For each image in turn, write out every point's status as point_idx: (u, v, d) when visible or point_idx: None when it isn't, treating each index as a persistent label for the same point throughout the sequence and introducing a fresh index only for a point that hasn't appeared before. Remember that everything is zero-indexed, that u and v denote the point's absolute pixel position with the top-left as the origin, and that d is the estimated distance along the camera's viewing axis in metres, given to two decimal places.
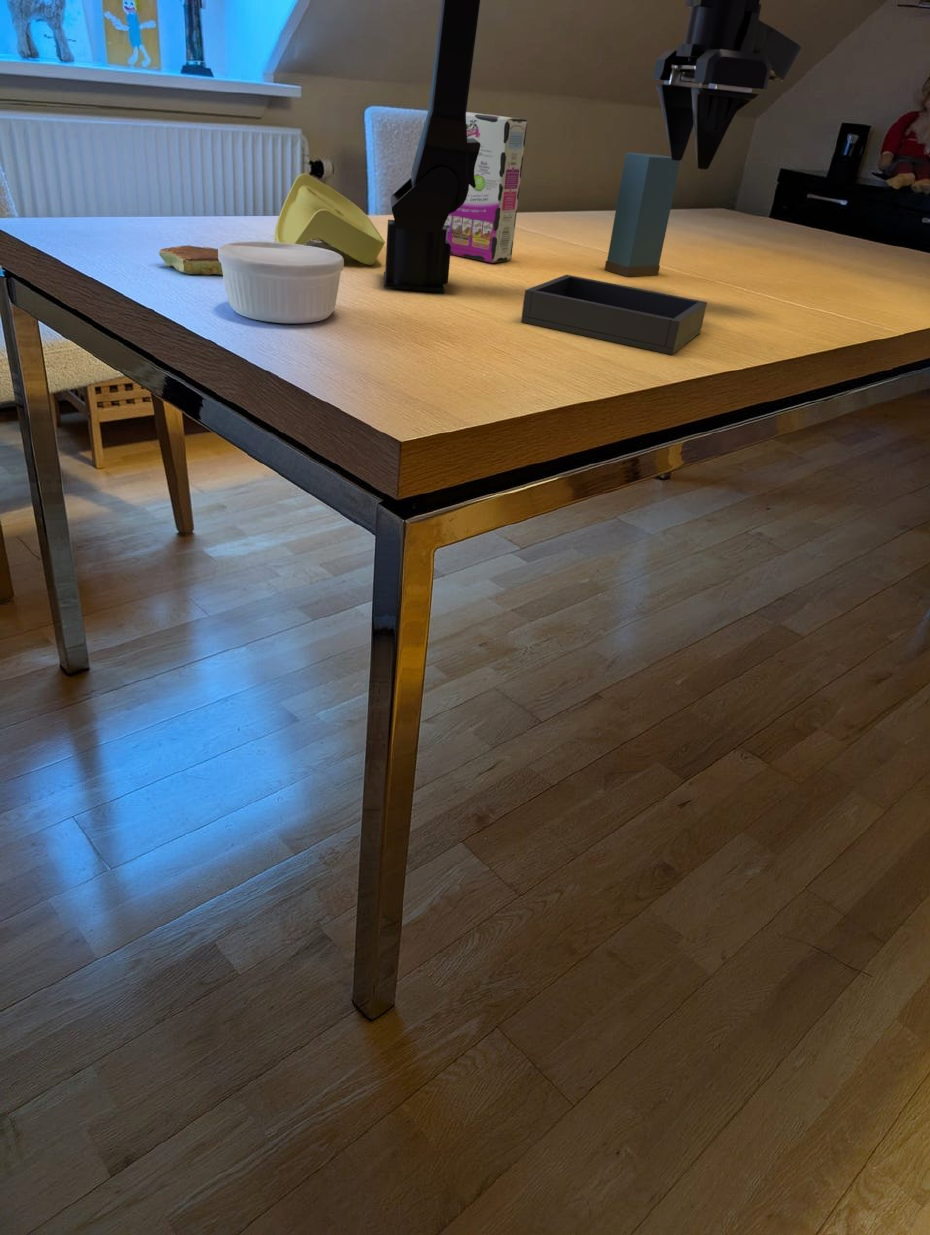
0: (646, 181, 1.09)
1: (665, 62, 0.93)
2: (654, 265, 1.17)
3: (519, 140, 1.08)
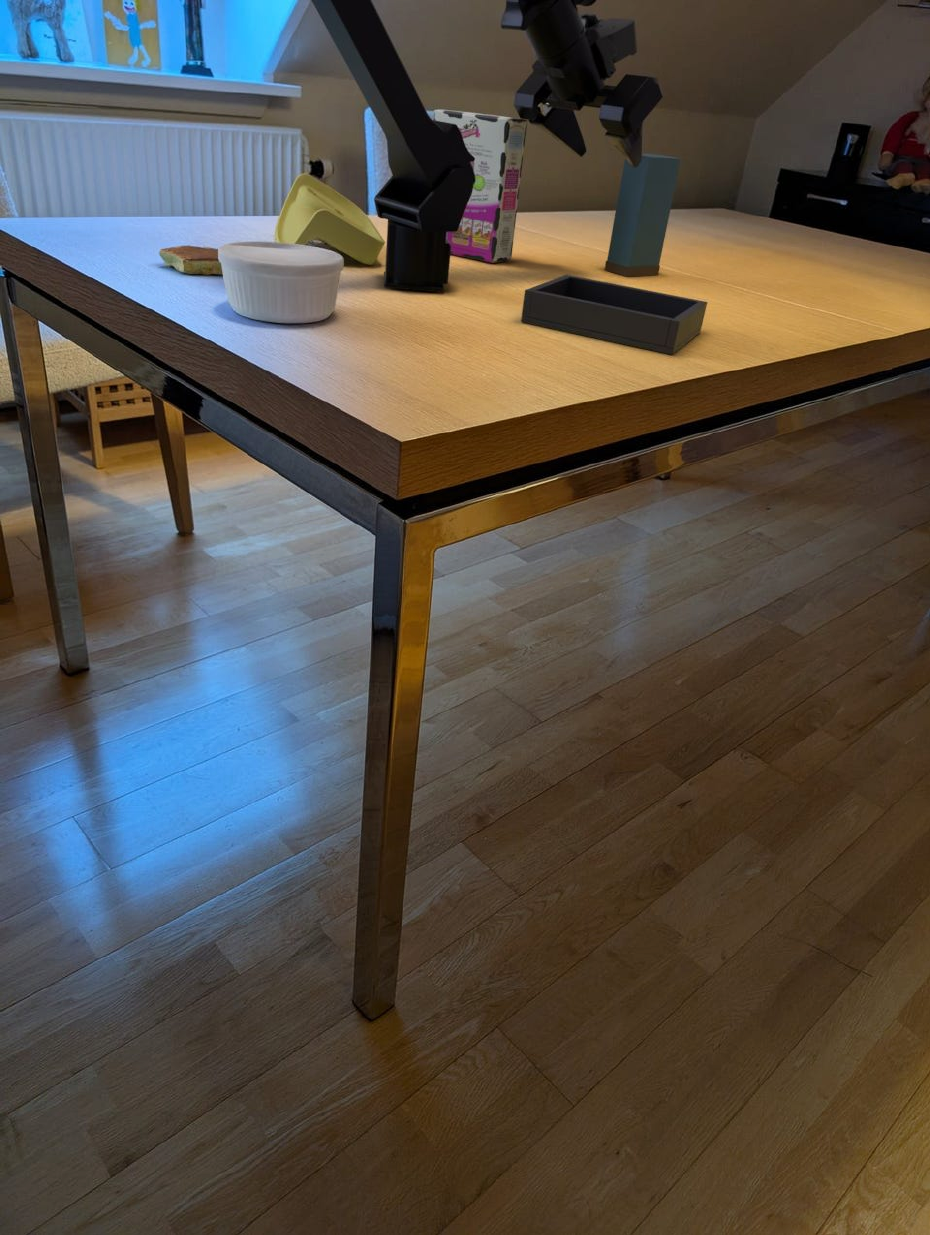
0: (646, 181, 1.09)
1: (533, 109, 1.03)
2: (654, 265, 1.17)
3: (519, 140, 1.08)
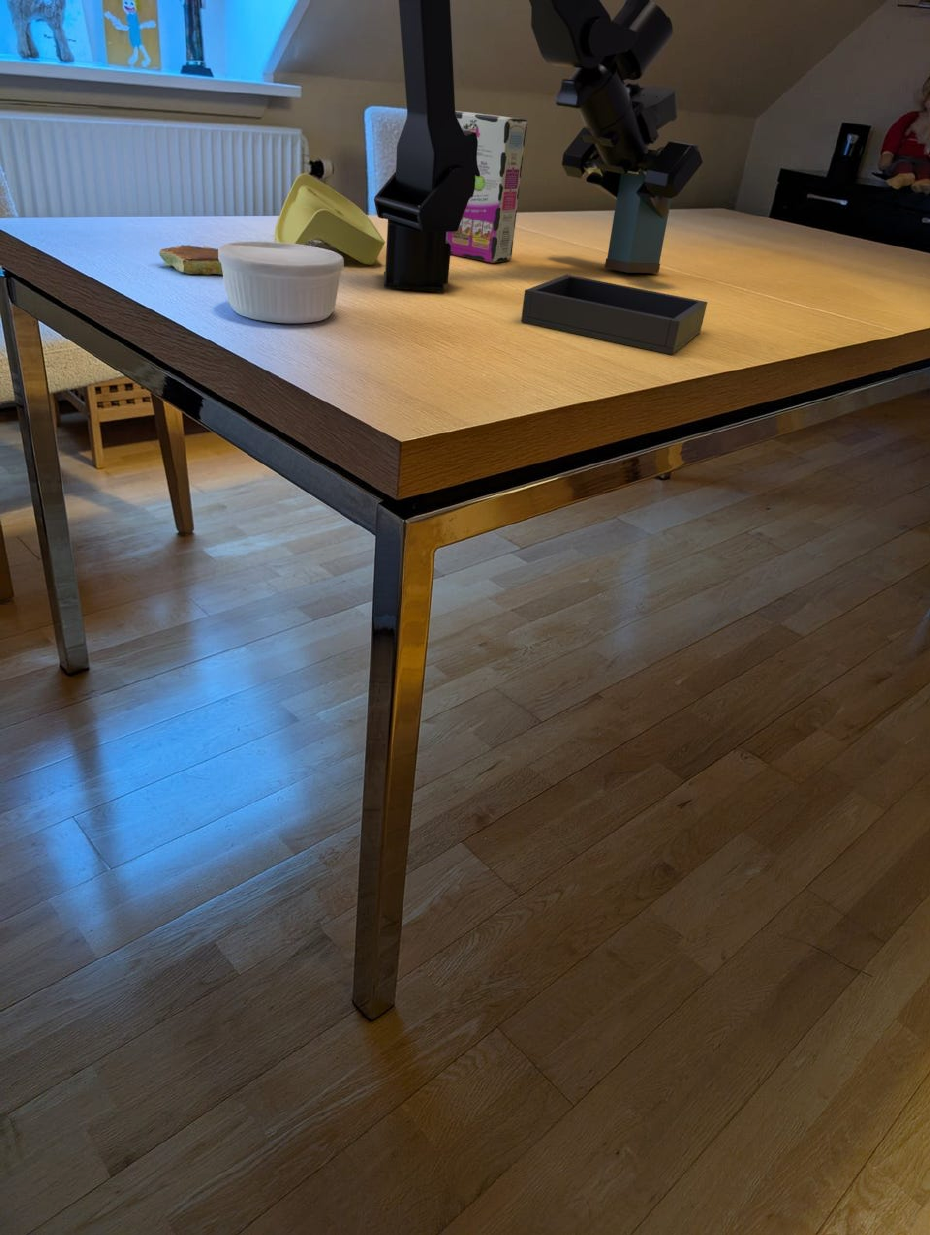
0: None
1: (581, 169, 1.12)
2: (654, 263, 1.17)
3: (519, 140, 1.08)
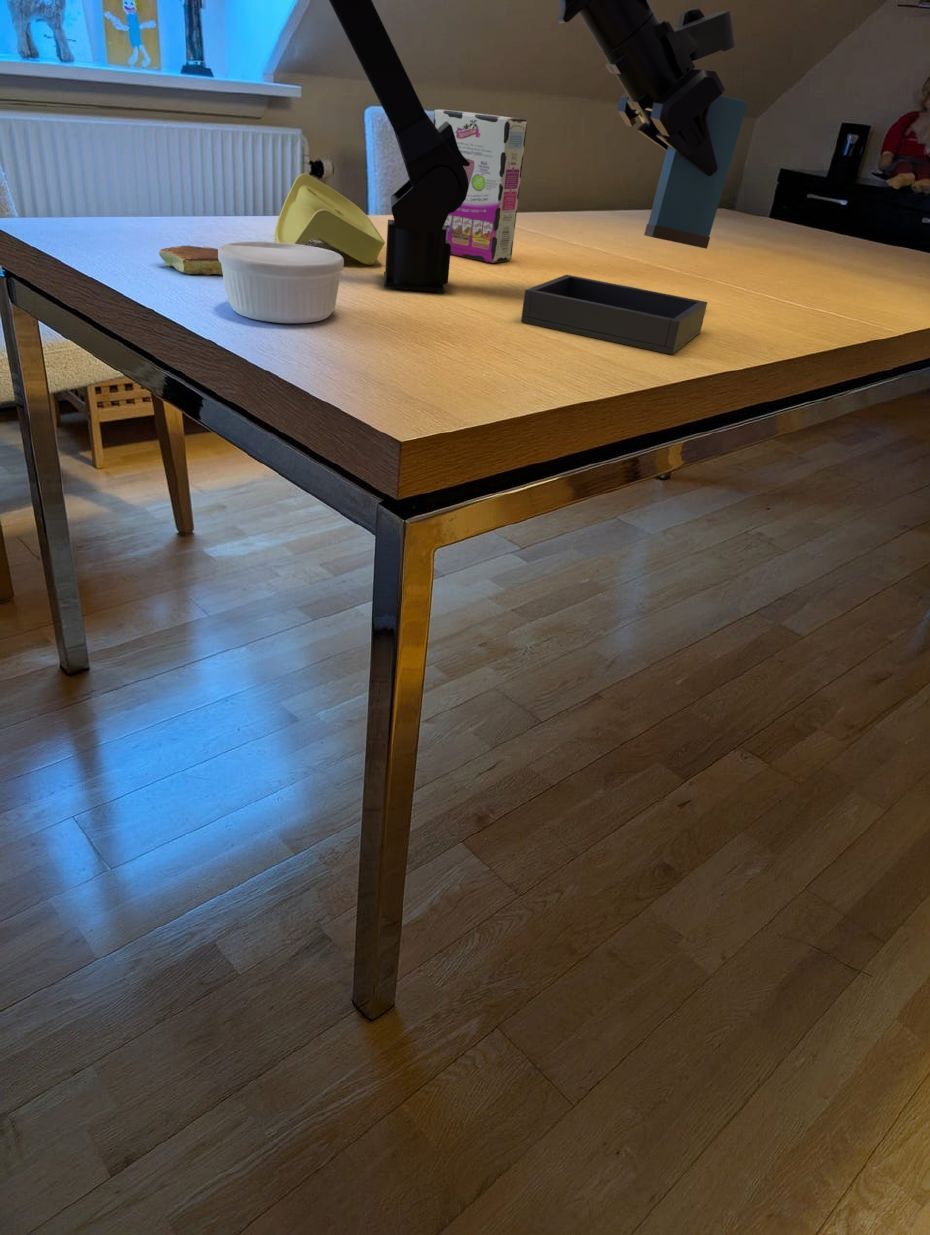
0: None
1: (626, 113, 0.95)
2: (700, 235, 0.95)
3: (519, 140, 1.08)
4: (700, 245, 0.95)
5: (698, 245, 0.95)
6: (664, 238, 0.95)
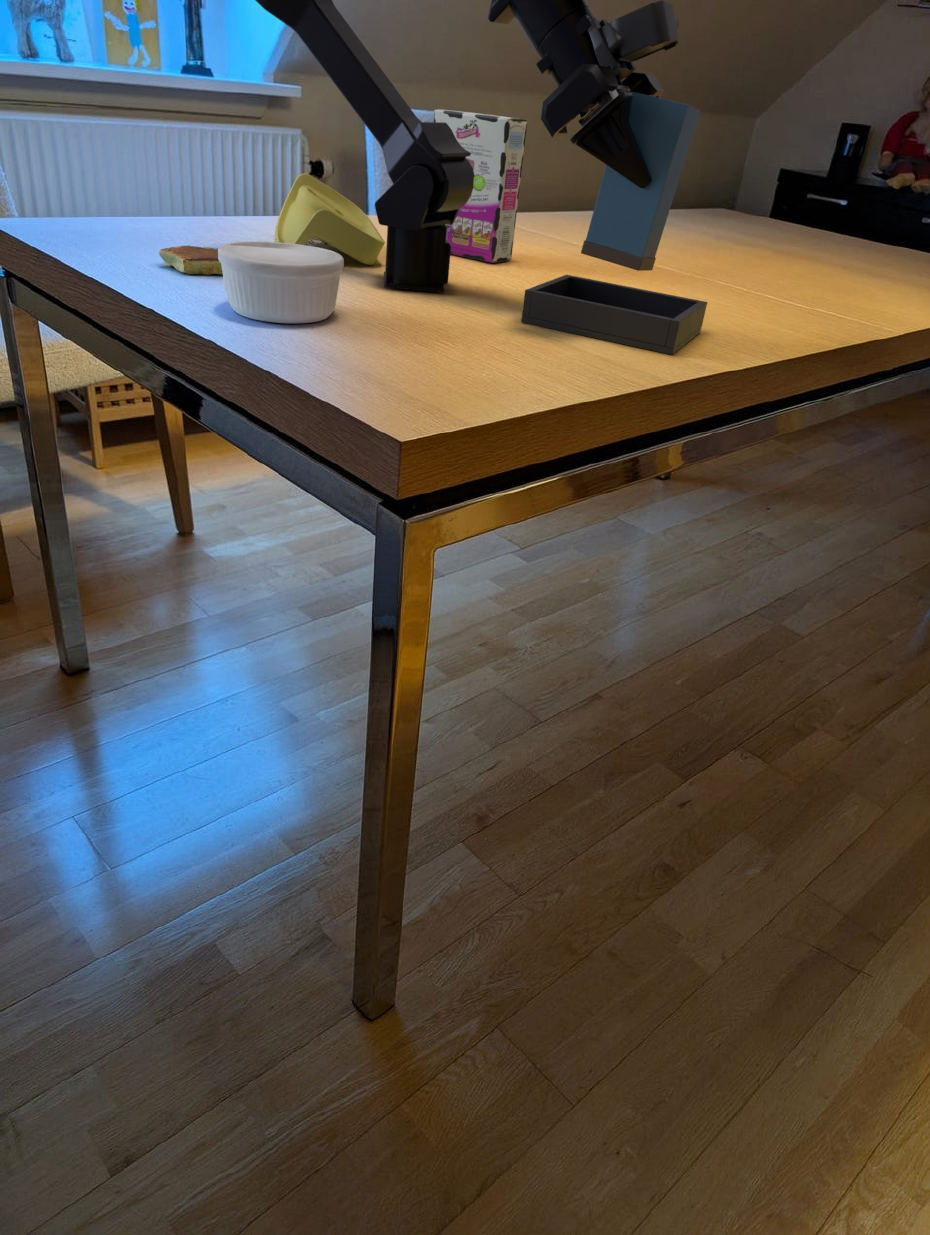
0: None
1: None
2: (632, 254, 0.83)
3: (519, 140, 1.08)
4: (631, 266, 0.84)
5: (629, 266, 0.84)
6: (593, 255, 0.85)
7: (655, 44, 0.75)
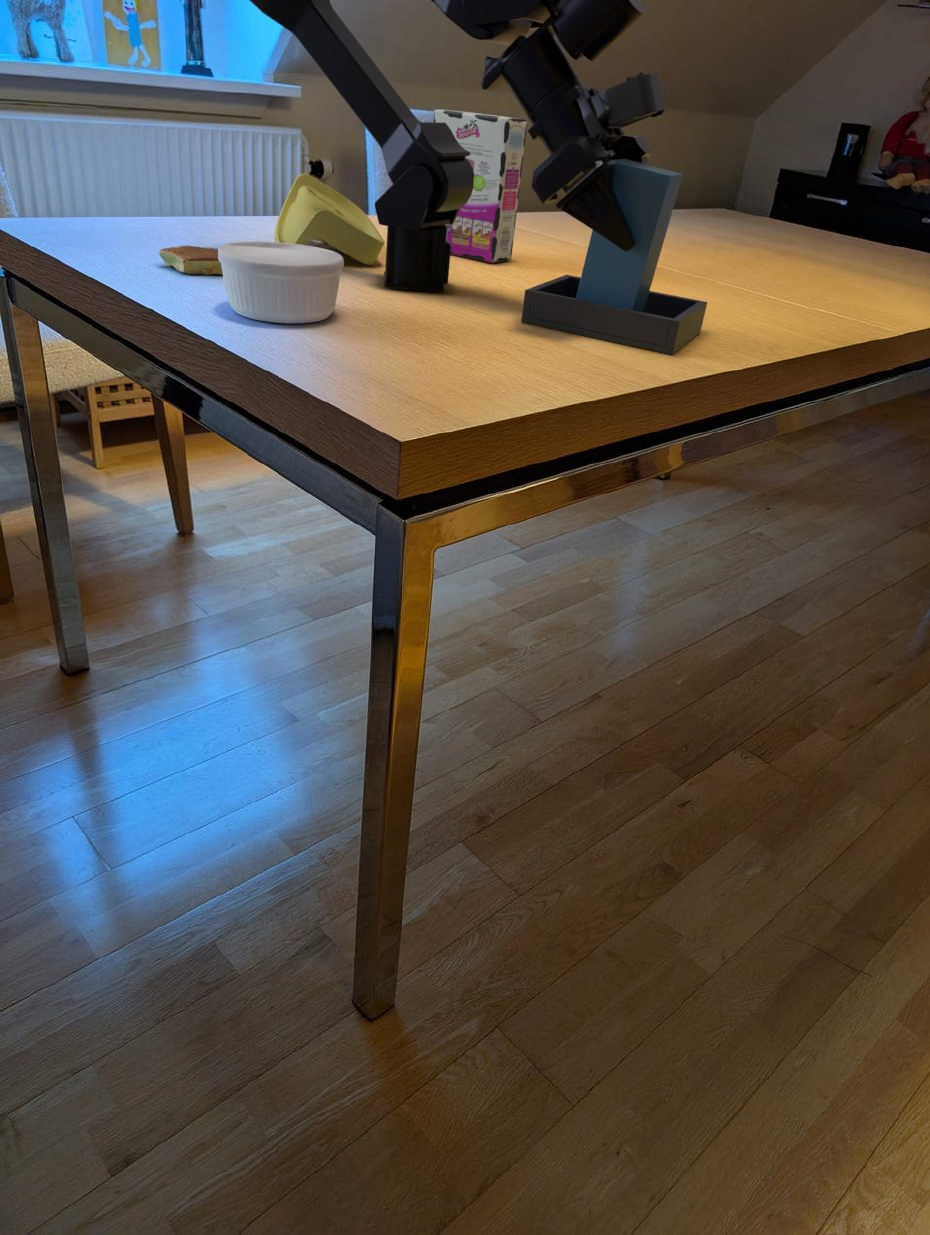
0: None
1: None
2: None
3: (519, 140, 1.08)
4: None
5: None
6: None
7: (642, 115, 0.78)
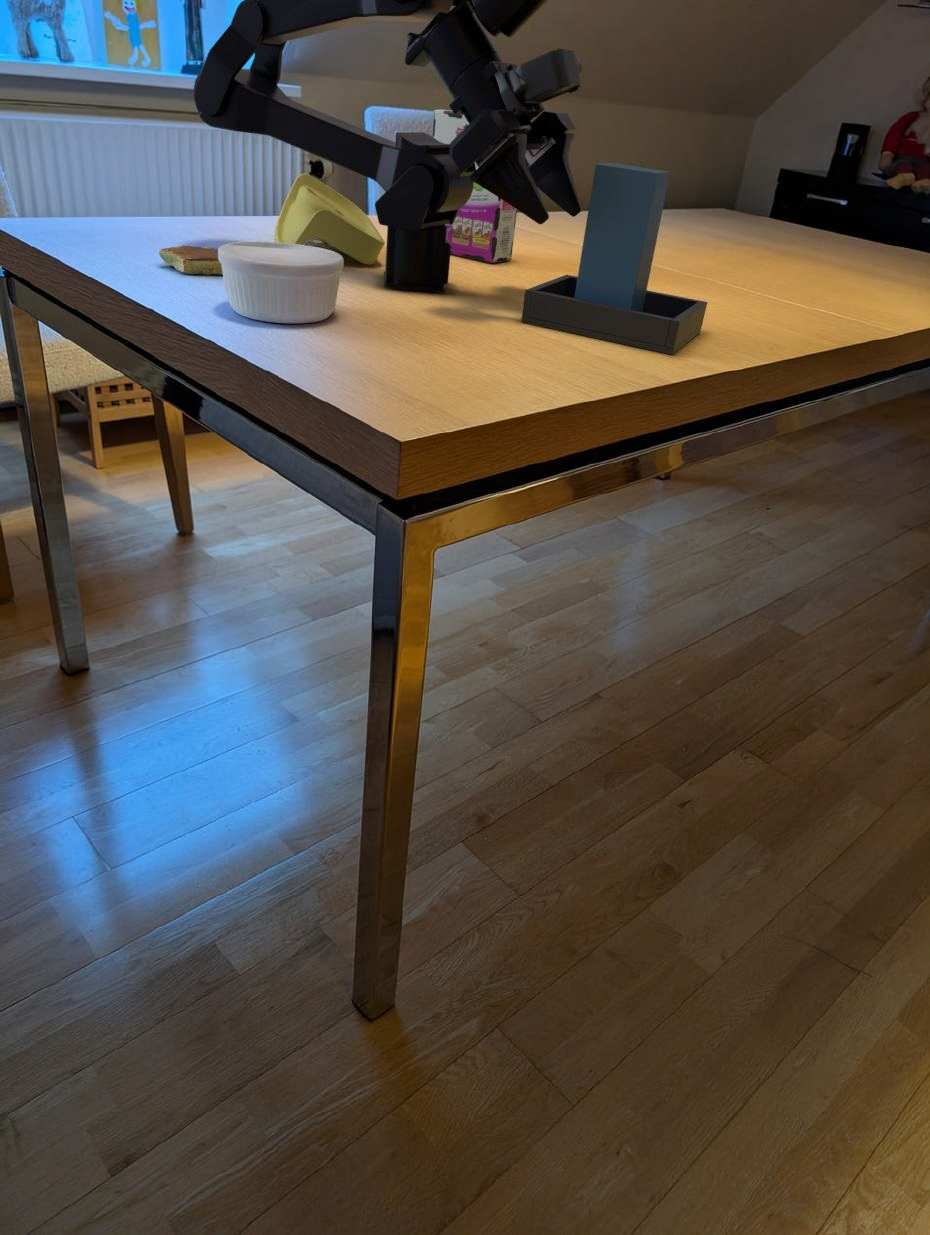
0: (592, 196, 0.83)
1: None
2: None
3: None
4: None
5: None
6: None
7: (555, 89, 0.80)
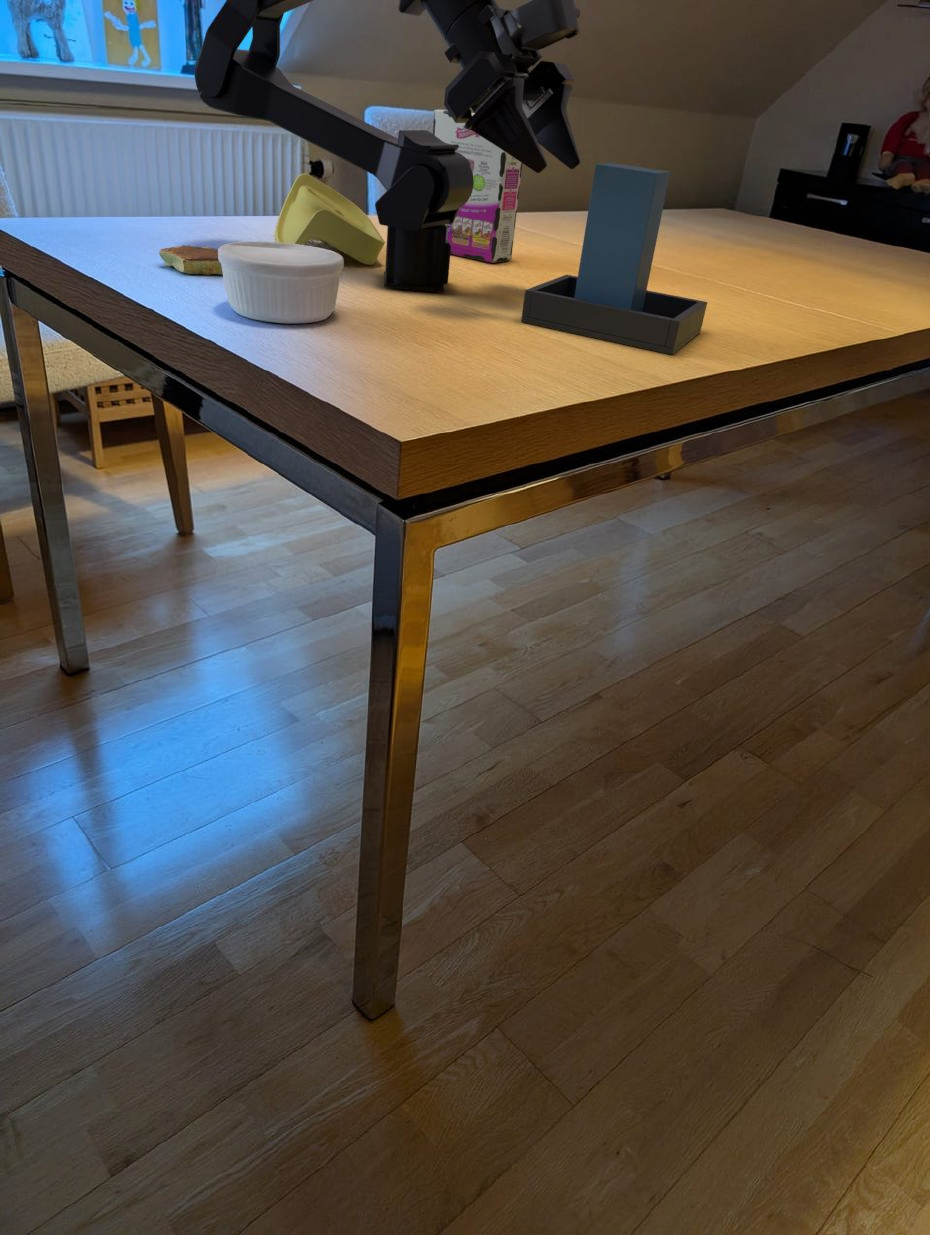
0: (592, 196, 0.83)
1: None
2: None
3: None
4: None
5: None
6: None
7: (553, 32, 0.78)
